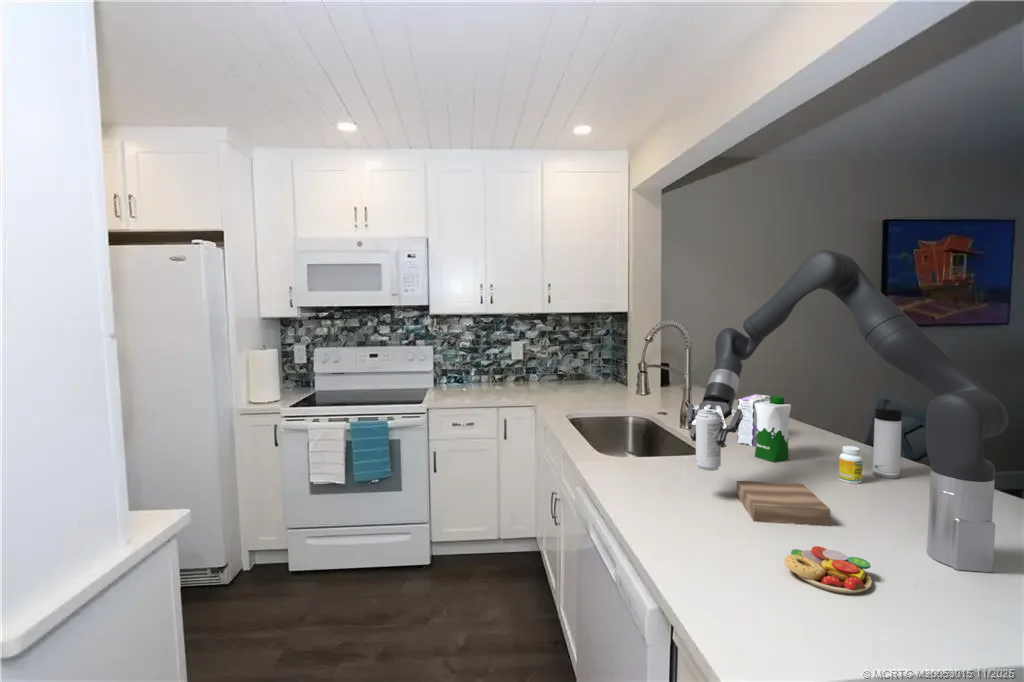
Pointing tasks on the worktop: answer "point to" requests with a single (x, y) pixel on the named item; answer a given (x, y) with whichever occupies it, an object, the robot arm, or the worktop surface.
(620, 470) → the worktop surface
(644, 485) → the worktop surface
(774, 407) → the milk carton
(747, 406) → the candy box
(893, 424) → the travel mug
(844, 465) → the supplement bottle
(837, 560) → the toy food set
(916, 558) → the worktop surface
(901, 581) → the worktop surface
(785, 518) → the walnut base
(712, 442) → the energy drink can
